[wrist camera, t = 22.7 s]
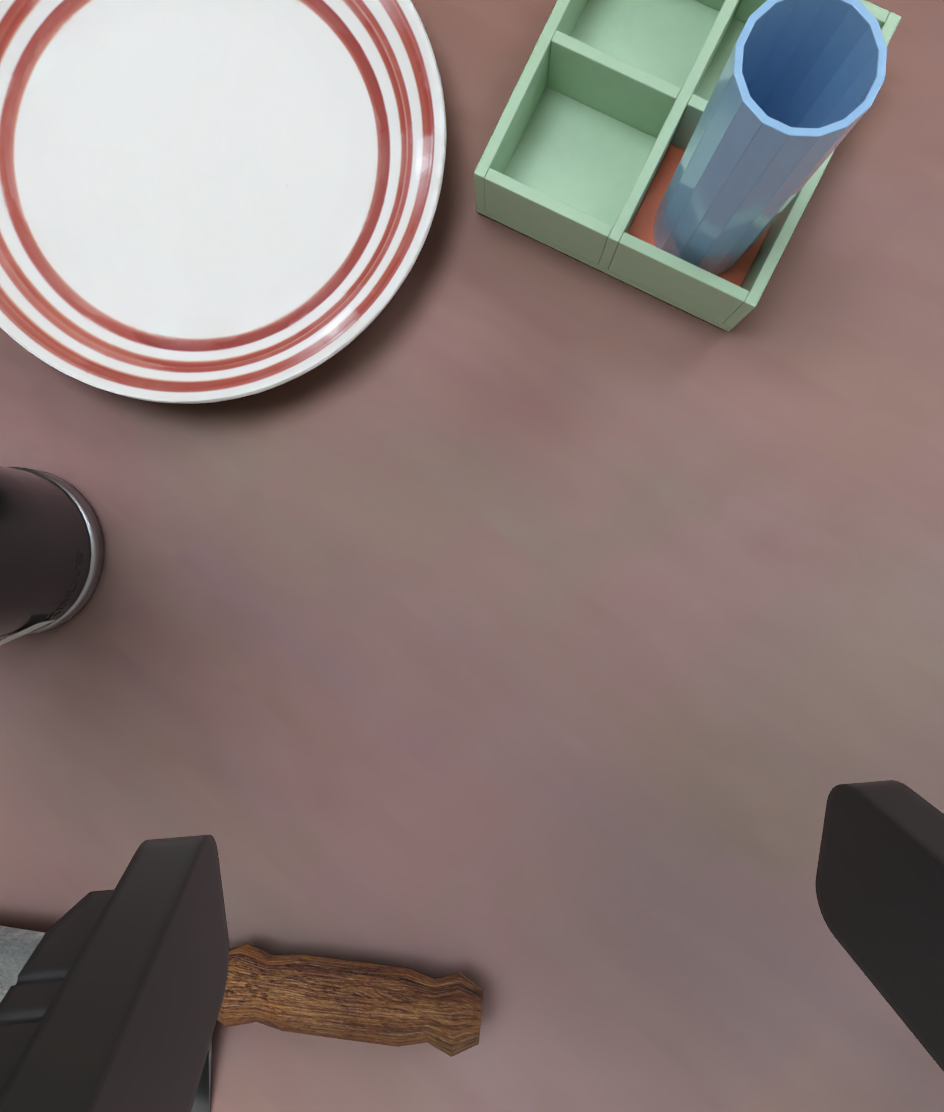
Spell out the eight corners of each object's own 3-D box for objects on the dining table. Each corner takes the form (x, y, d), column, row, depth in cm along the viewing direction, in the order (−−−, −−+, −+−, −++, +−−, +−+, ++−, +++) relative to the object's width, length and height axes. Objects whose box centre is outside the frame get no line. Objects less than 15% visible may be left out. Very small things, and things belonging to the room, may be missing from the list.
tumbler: (636, 252, 35) (708, 97, 23) (679, 164, 34) (776, -40, 22) (723, 294, 34) (844, 160, 22) (768, 205, 34) (913, 22, 22)
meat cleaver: (-105, 1076, 38) (-176, 1140, 34) (-91, 887, 38) (-160, 928, 34) (465, 1147, 37) (462, 1221, 33) (484, 953, 37) (483, 1004, 33)
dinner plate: (526, 24, 35) (528, -30, 32) (338, 487, 36) (322, 481, 33) (73, -150, 36) (31, -221, 33) (-100, 305, 37) (-159, 282, 34)
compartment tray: (475, 211, 36) (473, 172, 32) (601, -47, 35) (613, -116, 31) (728, 332, 35) (755, 307, 31) (859, 72, 35) (902, 16, 31)
